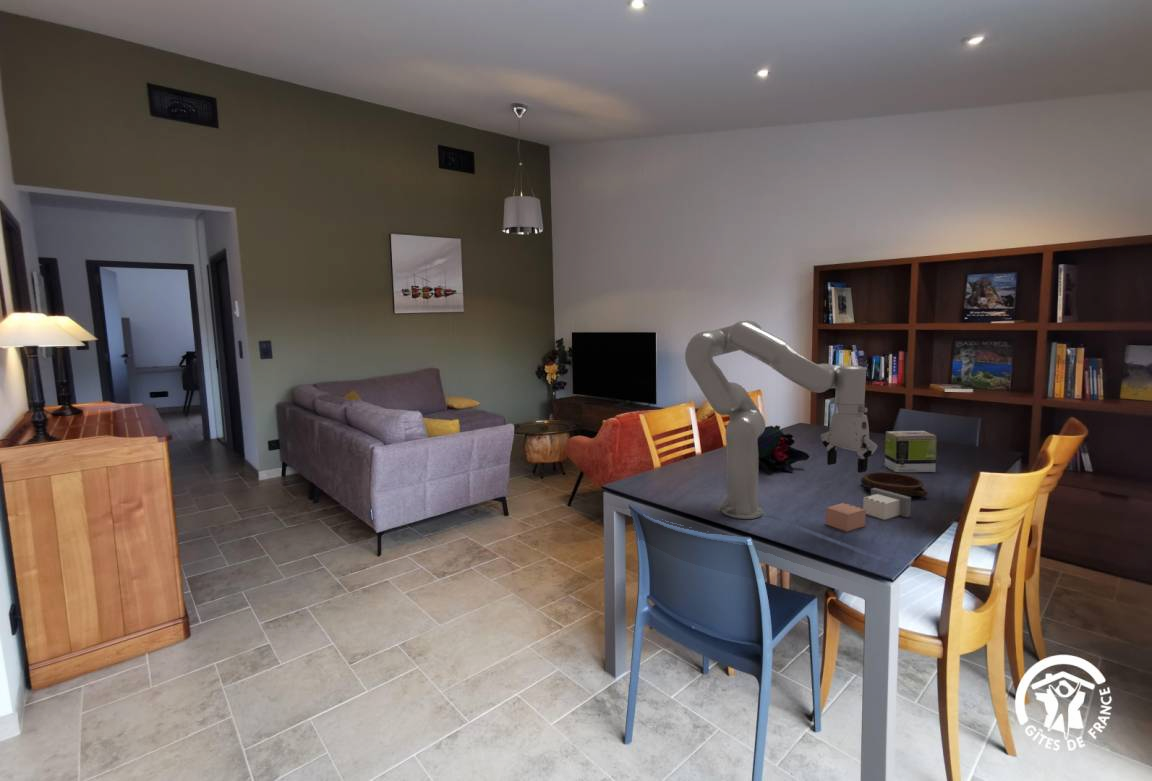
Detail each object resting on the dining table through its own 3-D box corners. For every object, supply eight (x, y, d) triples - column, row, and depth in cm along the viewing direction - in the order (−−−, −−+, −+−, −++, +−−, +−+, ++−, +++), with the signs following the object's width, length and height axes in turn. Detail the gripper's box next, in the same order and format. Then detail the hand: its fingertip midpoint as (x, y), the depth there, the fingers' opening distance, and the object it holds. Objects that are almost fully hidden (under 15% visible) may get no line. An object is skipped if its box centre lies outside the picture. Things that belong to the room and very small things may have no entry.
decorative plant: (768, 483, 241) (828, 482, 215) (721, 467, 231) (778, 463, 205) (774, 437, 247) (833, 430, 221) (729, 419, 237) (785, 409, 211)
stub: (847, 531, 161) (847, 514, 160) (825, 524, 167) (826, 507, 166) (864, 525, 165) (865, 508, 164) (843, 518, 171) (843, 502, 170)
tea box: (922, 466, 229) (924, 430, 227) (935, 473, 219) (938, 435, 217) (883, 466, 231) (885, 430, 229) (894, 472, 221) (896, 435, 219)
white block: (892, 522, 167) (893, 502, 166) (855, 511, 177) (856, 492, 177) (916, 514, 173) (917, 495, 172) (879, 504, 183) (880, 486, 182)
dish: (914, 506, 184) (915, 491, 184) (847, 490, 202) (848, 476, 201) (937, 494, 195) (938, 480, 194) (871, 480, 212) (872, 467, 211)
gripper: (886, 412, 156) (883, 473, 158) (831, 404, 171) (829, 459, 173) (869, 415, 152) (866, 477, 155) (814, 406, 167) (812, 463, 170)
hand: (846, 467), depth 164 cm, fingers open, 9 cm apart
